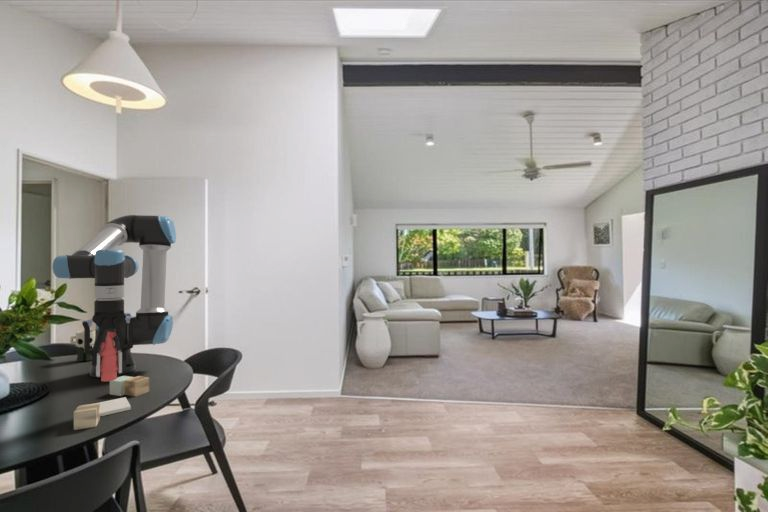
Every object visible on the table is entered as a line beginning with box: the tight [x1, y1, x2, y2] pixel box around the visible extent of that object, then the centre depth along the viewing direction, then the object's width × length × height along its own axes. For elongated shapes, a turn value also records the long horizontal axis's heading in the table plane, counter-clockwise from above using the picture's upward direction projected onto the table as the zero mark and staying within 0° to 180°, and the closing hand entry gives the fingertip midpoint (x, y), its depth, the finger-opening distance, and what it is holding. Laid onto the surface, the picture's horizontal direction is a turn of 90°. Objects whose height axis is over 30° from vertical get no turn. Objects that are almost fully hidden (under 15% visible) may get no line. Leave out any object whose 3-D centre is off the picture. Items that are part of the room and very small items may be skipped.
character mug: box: [69, 329, 95, 362], centre depth 170 cm, size 11×7×13 cm, turn 119°
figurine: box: [100, 331, 119, 382], centre depth 118 cm, size 5×5×15 cm
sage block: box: [109, 375, 135, 397], centre depth 132 cm, size 5×5×5 cm
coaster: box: [98, 396, 132, 417], centre depth 118 cm, size 10×10×1 cm
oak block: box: [124, 375, 150, 397], centre depth 132 cm, size 5×5×5 cm
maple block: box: [73, 402, 101, 431], centre depth 108 cm, size 5×5×5 cm
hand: (109, 373), depth 118 cm, fingers closed on figurine, 5 cm apart
